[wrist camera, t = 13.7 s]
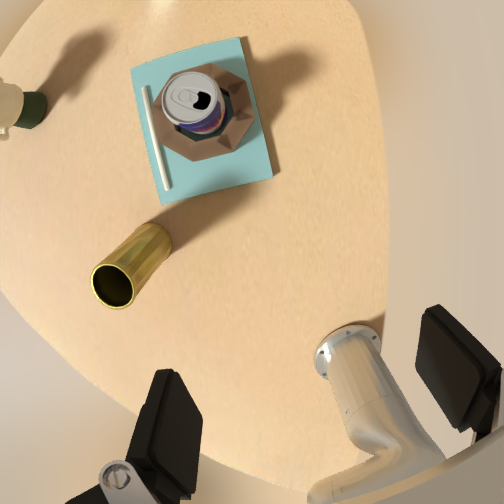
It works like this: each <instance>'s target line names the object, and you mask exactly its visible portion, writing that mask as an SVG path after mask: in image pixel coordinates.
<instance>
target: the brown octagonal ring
mask: <svg viewBox="0 0 504 504" xmlns="http://www.w3.org/2000/svg"><path fill="white" fill-rule="evenodd" d="M192 71H195V72H200V73H204V74H207V75H208V76H210V77H212V78H213V79H214V80H215V81H216V83H217V84H218V86H219V88H220V91H221V93H223V94H225V95H226V96H228V97H230V99H231V104H232V108H233V112H234V116H233V117H232V119H231V120H230V122H229V123H228V125H227V126H226V128H225V129H224V131H223V132H222V134H221V135H220V136H216V137H212V138H208V139H205V140H201V141H196V140H194V139H192V138H190V137H189V136H187V135H185V134H183V133H181V129H180V126H178V125H176V124H174V123H173V122H171V121H170V120H169V119H168V118H167V116H166V115H165V113H164V111H163V108H162V94H163V91H164V89H165V87H166V85H167V84H168V83H169V81H170V80H172V79H173V78H174V77H176V76H177V75H179V74H181V73H185V72H192ZM151 109H152V114H153V118H154V123H155V127H156V132H157V136H158V140H159V143H160V144H162V145H164V146H165V147H167V148H169V149H171V150H173V151H174V152H176V153H178V154H180V155H181V156H183V157H185V158H187V159H188V160H190V161H192V162H196V161H200V160H204V159H208V158H212V157H216V156H220V155H224V154H228V153H232V152H233V151H235V149H236V148H237V146H238V145H239V143H240V142H241V140H242V139H243V137H244V136H245V134H246V132H247V131H248V129H249V128H250V126H251V125H252V123H253V122H254V119H255V115H254V111H253V107H252V103H251V99H250V95H249V91H248V87H247V83H246V81H245V80H244V79H242V78H240V77H238V76H236V75H235V74H233V73H231V72H229V71H227V70H225V69H223V68H221V67H219V66H217V65H215V64H213V63H208V64H204V65H200V66H196V67H193V68H189V69H186V70H182V71H179V72H176V73H173V74H172V75H171V76H170V78H169V79H168V81H167V82H166V84H165V85H164V87H163V88H162V90H161V91H160V93H159V95H158V96H157V98H156V99H155V101H154V103H153V104H152V107H151Z"/></svg>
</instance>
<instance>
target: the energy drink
mask: <svg viewBox="0 0 504 504" xmlns="http://www.w3.org/2000/svg"><path fill="white" fill-rule="evenodd" d="M162 108H163V111H164V113H165V115H166V116H167V118H168V119H169V120H170V121H171V122H173V123H174V124H176V125H178V126H181V127H183V128H185V129H187V130H190V131H192V132H194V133H196V134H199V135H211V134H214V133H216V132H217V131H219V130H220V129H221V128H222V127H223V126H224V124H225V122H226V120H227V108H226V105H225V103H224V100H223V97H222V94H221V91H220V88H219V86H218V84H217V83H216V81H215V80H214V79H213V78H212V77H210V76H208V75H207V74H204V73H200V72H195V71H192V72H185V73H181V74H179V75H177V76H176V77H174V78H173V79H172V80H170V81H169V83H168V84H167V85H166V87H165V89H164V91H163V94H162Z"/></svg>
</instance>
